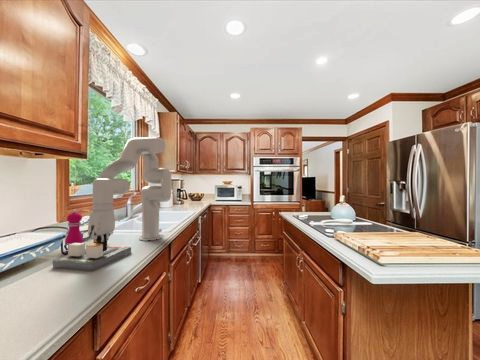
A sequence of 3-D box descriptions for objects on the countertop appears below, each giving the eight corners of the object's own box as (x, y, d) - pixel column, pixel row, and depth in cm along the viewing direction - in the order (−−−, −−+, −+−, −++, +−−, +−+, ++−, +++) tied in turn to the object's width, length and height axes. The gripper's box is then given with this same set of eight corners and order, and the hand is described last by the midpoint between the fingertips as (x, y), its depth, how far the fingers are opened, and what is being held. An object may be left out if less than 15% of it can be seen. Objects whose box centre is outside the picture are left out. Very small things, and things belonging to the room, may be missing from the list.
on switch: (74, 253, 94) (74, 242, 94) (84, 254, 93) (85, 243, 93) (68, 255, 91) (68, 244, 91) (78, 256, 90) (78, 245, 90)
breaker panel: (98, 250, 108) (98, 244, 108) (131, 253, 105) (131, 246, 105) (52, 267, 87) (52, 259, 87) (92, 271, 83) (92, 263, 83)
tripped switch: (92, 255, 92) (92, 243, 92) (102, 255, 91) (102, 243, 91) (86, 257, 89) (86, 245, 89) (96, 258, 88) (96, 246, 88)
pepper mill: (86, 247, 113) (87, 208, 113) (74, 252, 106) (75, 210, 106) (73, 247, 114) (74, 208, 114) (60, 251, 106) (61, 210, 107)
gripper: (108, 205, 102) (108, 245, 102) (79, 209, 87) (78, 255, 87) (123, 205, 101) (122, 246, 100) (96, 209, 86) (95, 257, 86)
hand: (102, 250), depth 94 cm, fingers closed
